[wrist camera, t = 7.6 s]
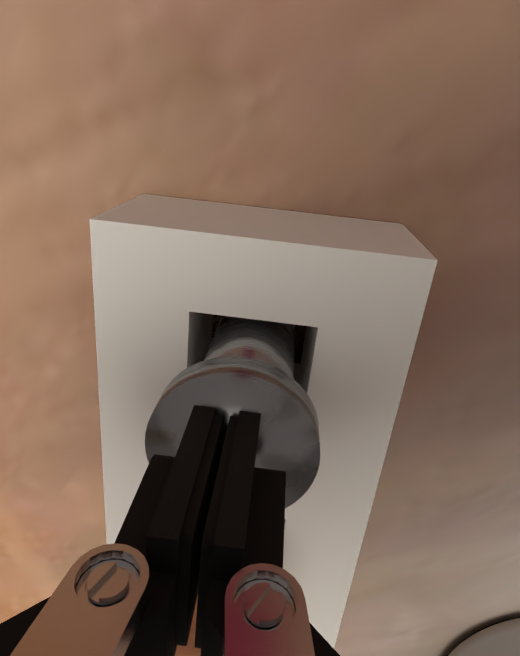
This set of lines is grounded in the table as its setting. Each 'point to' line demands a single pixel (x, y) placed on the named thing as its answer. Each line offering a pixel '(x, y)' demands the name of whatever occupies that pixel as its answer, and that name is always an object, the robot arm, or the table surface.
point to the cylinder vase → (492, 641)
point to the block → (268, 305)
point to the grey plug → (246, 399)
